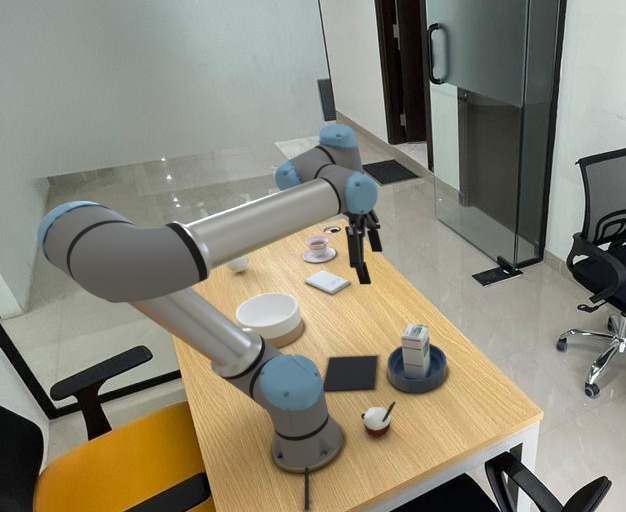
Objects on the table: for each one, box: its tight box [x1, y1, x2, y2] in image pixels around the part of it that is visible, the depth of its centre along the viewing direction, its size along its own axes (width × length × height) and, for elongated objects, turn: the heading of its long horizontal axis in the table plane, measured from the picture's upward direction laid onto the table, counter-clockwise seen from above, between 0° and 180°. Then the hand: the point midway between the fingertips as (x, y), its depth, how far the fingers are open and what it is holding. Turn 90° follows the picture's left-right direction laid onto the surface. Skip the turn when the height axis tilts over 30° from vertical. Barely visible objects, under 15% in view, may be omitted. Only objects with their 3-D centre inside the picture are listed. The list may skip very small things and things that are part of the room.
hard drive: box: [305, 269, 350, 295], centre depth 170 cm, size 2×8×12 cm
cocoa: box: [360, 401, 396, 438], centre depth 115 cm, size 10×6×12 cm, turn 40°
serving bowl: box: [387, 342, 447, 394], centre depth 134 cm, size 16×16×4 cm
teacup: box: [302, 234, 337, 264], centre depth 184 cm, size 12×12×6 cm
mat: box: [323, 355, 378, 392], centre depth 134 cm, size 13×13×1 cm
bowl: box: [234, 292, 304, 349], centre depth 146 cm, size 17×17×8 cm
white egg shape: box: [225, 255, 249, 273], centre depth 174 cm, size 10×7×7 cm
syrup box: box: [400, 323, 431, 379], centre depth 131 cm, size 6×6×14 cm
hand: (371, 266), depth 129 cm, fingers open, 13 cm apart
